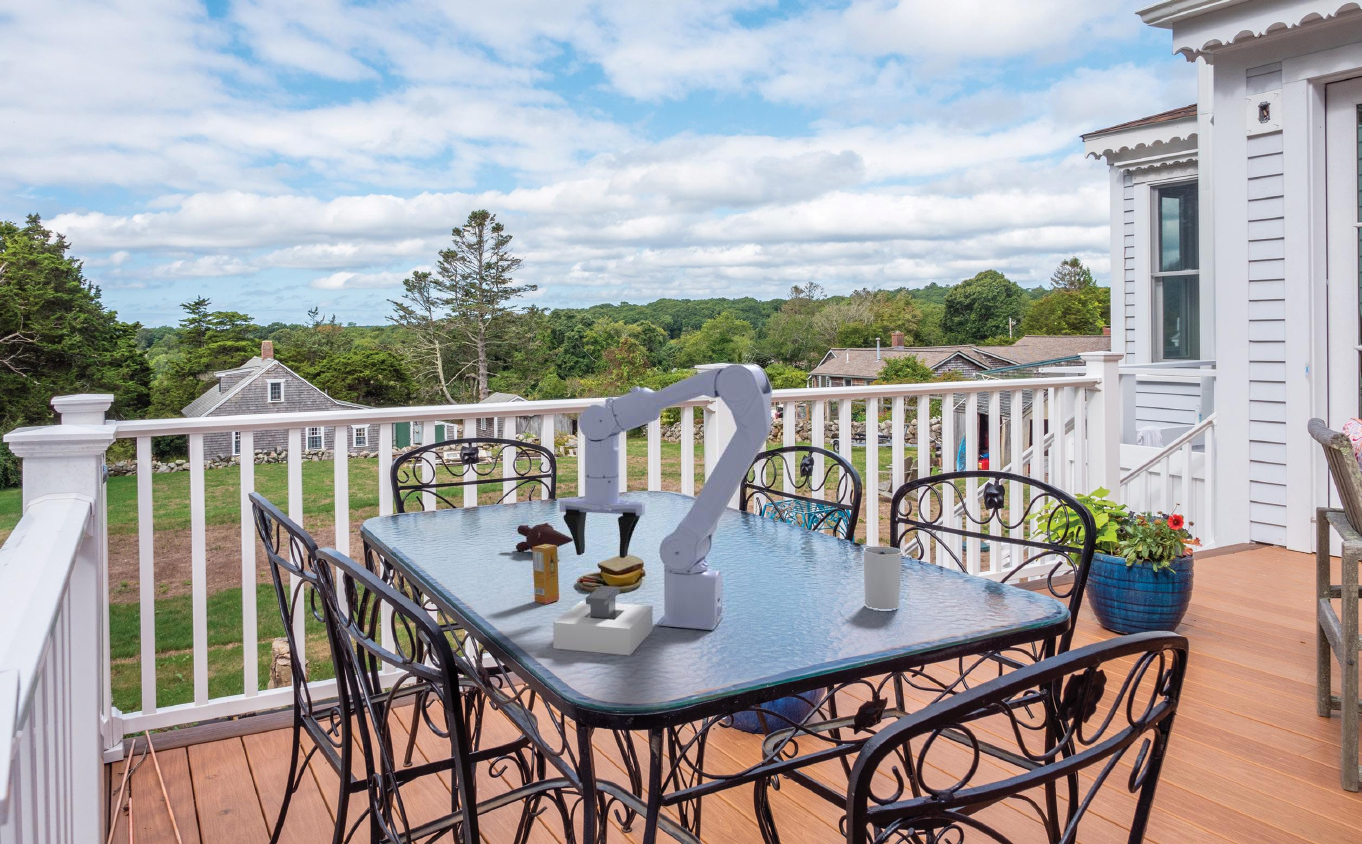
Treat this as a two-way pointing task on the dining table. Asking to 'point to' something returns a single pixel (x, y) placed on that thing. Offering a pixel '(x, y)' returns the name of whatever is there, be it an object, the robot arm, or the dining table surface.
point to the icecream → (540, 536)
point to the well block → (603, 629)
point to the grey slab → (603, 602)
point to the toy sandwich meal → (615, 574)
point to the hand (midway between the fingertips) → (601, 555)
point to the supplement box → (545, 573)
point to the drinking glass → (882, 576)
